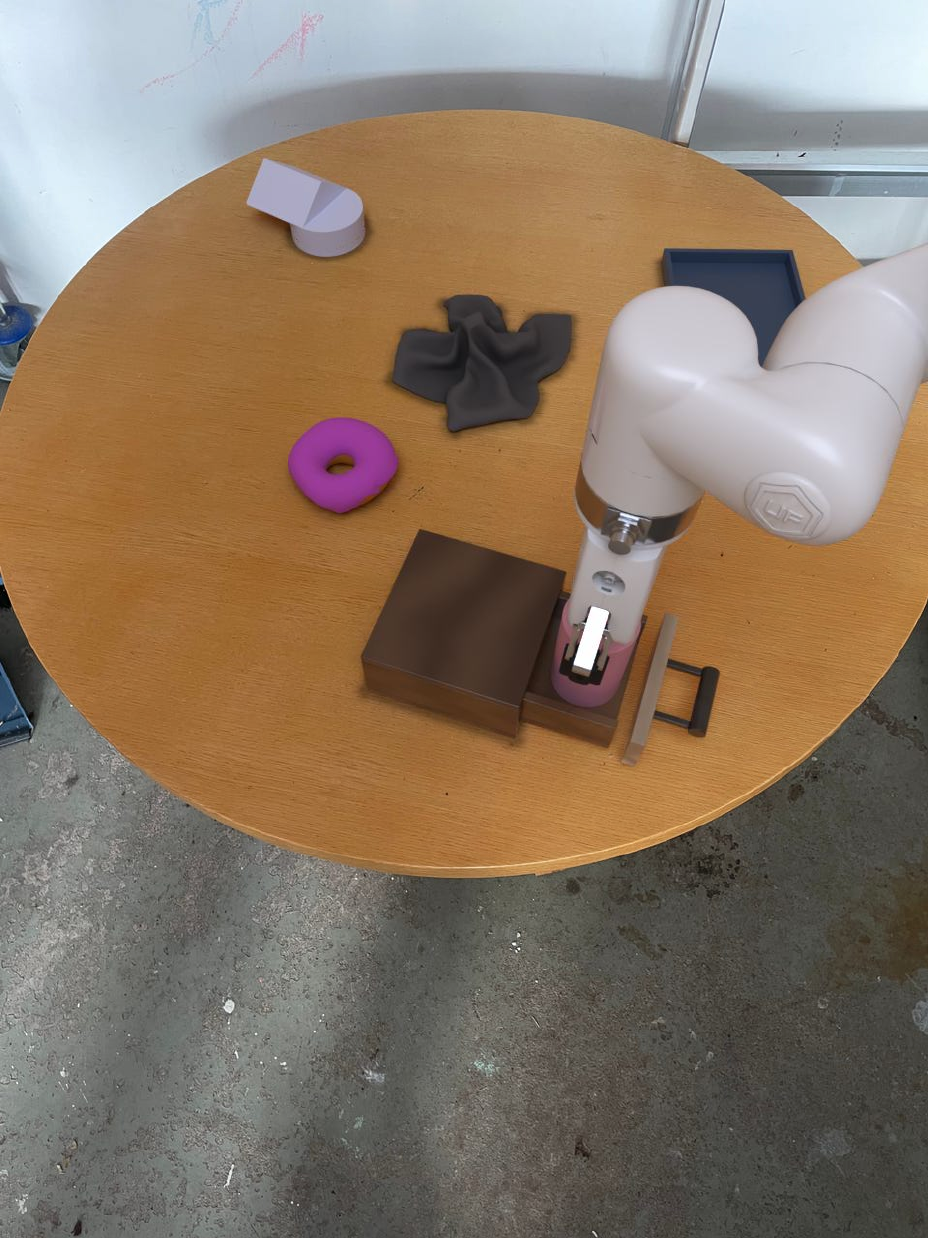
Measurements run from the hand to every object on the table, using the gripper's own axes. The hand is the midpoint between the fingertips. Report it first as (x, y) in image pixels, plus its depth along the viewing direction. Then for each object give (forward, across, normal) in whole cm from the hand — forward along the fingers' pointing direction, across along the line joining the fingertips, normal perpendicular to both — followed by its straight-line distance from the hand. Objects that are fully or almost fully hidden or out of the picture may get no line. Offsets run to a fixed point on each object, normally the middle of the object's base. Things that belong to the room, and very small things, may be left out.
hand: (596, 623), depth 67 cm
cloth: (+12, +35, +20) cm, 42 cm away
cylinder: (+9, 0, 0) cm, 9 cm away
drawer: (+10, 0, -3) cm, 10 cm away
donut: (+12, +14, +28) cm, 34 cm away
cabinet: (+11, 0, +10) cm, 15 cm away
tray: (+11, +45, -6) cm, 47 cm away
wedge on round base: (+12, +49, +48) cm, 70 cm away
